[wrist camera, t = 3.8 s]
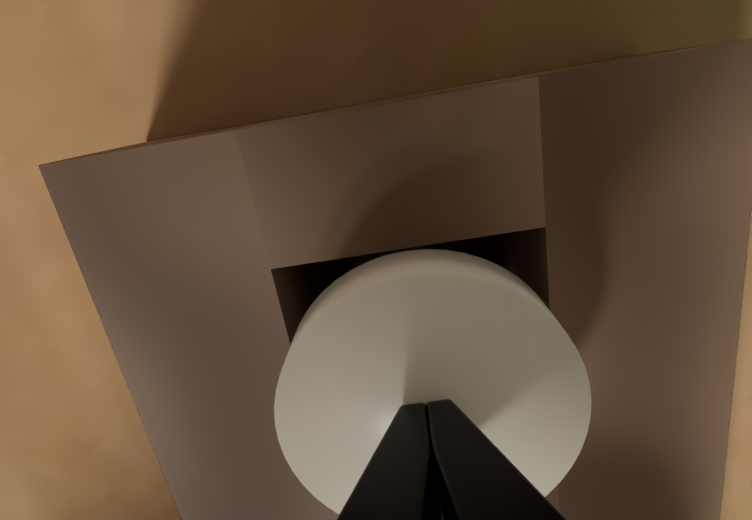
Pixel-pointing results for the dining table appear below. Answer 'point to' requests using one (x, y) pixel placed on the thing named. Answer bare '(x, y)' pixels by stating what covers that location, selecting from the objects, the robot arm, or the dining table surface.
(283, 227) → the mount
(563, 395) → the knob
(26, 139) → the dining table surface
